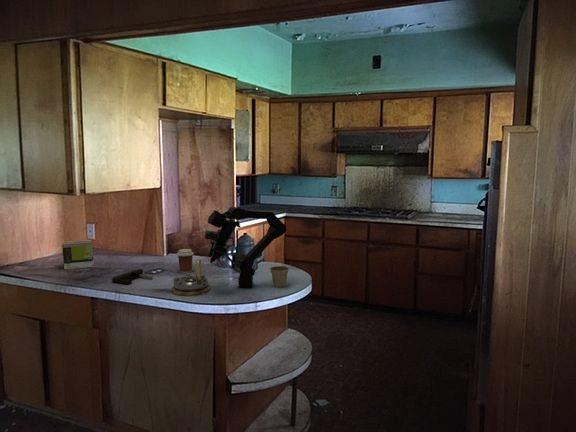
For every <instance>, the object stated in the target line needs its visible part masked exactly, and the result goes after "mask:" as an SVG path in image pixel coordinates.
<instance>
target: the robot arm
mask: <svg viewBox="0 0 576 432" xmlns="http://www.w3.org/2000/svg"><path fill="white" fill-rule="evenodd" d="M245 219H246V220H247V219H257V220H258V219H259V220H260V219H261V220H266V222H267V224H268V225H269V226H268V228H267V231H266V234H265V235H264V236H262V238H260V240H259V241H258V242H257V243H256V244H255V245H254V246H253V247H252V248H251V249H250V251H248V252H247V253H246V254H243V253H241V254H240V255H239V256H238V257H237V258H235V261H234V268H235V270H236V271H237V272H238V273H239V276H238V277H237V278H238V279H237V280H238V288H243V289H252V288H253V287H254V285H255V283H254V276H255V275H256V270H255V269H254V268H252V267H253V266H254V263H255V260H257V258H258V257H259V256H260V255H261V254H262V253H263V252H264V251H265V250H266V248H268V247H269V246H270V245H271V243H272V242H273V241H274V240H275V239H278V238H281V236H283V235H284V234H285V233H286V232H287V226H286V223H283V222H282V220H280V219H279V218H278V216H276V214H275V213H274V211H269V210H266V211H265V210H250V209H249V210H248V209H243V208H240V207H236V206H230V207H229V208H228V209H227V210H226V211H225V212H223V213H221V212H219V211H218V210H213V212H211V213H210V215H208V218H207V224H209V225H212V226H214V227H215V228H218V229H217V231H213V230H208V229H207V230H204V236H203V237H204V239H205V240H210V241H209V242H210V245H211V246H210V249H209V252H208V258H210V260H209V263H210V264H213V263H214V262H216V261H217V260H218V259H220V258H222V257H223V256H225V255H226V254H227V253H228V249H227V243H228V241H229V240H231V236H232V234H233V233H234V231H235V229H236V228H239V229H240V228H241V222H240V221H241V220H245ZM235 220H236V221H235Z"/></svg>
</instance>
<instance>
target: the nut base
mask: <svg viewBox="0 0 576 432" xmlns="http://www.w3.org/2000/svg"><path fill="white" fill-rule="evenodd" d="M208 291H209V292H210V291H211V285H210V283H208V287H207V288H205V289H203V290H199V291H191V292H184V291H178V290H175V289H174V285H172V287H171V293H172V294H173V295H175V296H180V297H194V296H193V295H195V296H200V295H199V294H201V295H204V294H203V293H205V294H207V293H209V292H208ZM206 292H207V293H206Z"/></svg>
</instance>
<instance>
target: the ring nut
mask: <svg viewBox="0 0 576 432" xmlns="http://www.w3.org/2000/svg"><path fill="white" fill-rule="evenodd" d="M201 261H202V260H201V259H197V260H195V275H191V274H189V273H185V276H181V277H178V276H177V277H175V276H174V278H173V286H174V289H175V290H178V291H184V292H191V291H199V290H203V289H205V288H207V287H208V284H209V278H208V277H206V276H205V274H202V263H201Z"/></svg>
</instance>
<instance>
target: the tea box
mask: <svg viewBox="0 0 576 432" xmlns="http://www.w3.org/2000/svg"><path fill="white" fill-rule="evenodd" d="M61 248H62V257H63V258H62V260H63V267H64V268H63V269H64V270H72V269H75V270H77V269H83V268H84V269H85V268H93V267H94V263H95V262H94V261H95V260H94V251H93V240H92V239H82V240H70V241H69V240H68V241H67V240H66V241H63V243H62V244H61Z"/></svg>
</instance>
